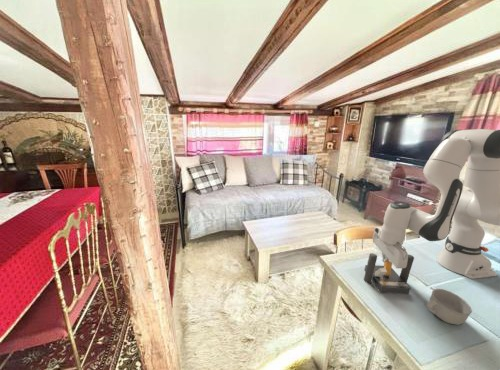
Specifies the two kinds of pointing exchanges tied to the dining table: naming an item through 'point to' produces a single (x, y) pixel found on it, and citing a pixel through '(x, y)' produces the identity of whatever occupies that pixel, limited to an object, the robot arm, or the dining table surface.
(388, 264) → the paddle centre
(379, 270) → the paddle right
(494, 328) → the dining table surface
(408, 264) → the post
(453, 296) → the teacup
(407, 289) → the black flat block
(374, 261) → the post
